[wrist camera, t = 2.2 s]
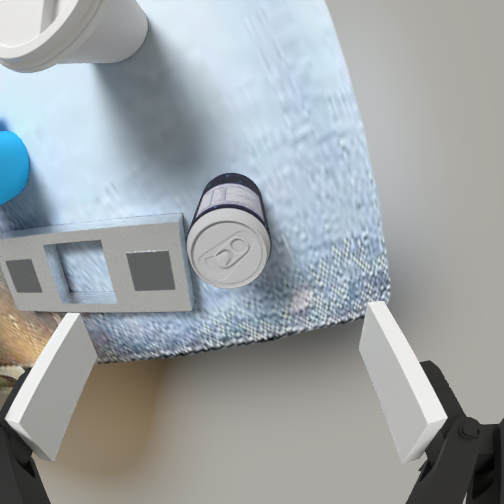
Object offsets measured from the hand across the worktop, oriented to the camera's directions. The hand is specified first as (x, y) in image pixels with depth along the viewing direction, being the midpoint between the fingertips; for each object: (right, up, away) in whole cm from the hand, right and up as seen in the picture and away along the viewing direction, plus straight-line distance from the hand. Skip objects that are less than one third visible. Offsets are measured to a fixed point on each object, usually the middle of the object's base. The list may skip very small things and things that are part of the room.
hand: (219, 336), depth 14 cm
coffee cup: (-11, +24, +9) cm, 28 cm away
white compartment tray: (-17, +2, +20) cm, 26 cm away
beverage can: (-1, +9, +17) cm, 20 cm away
